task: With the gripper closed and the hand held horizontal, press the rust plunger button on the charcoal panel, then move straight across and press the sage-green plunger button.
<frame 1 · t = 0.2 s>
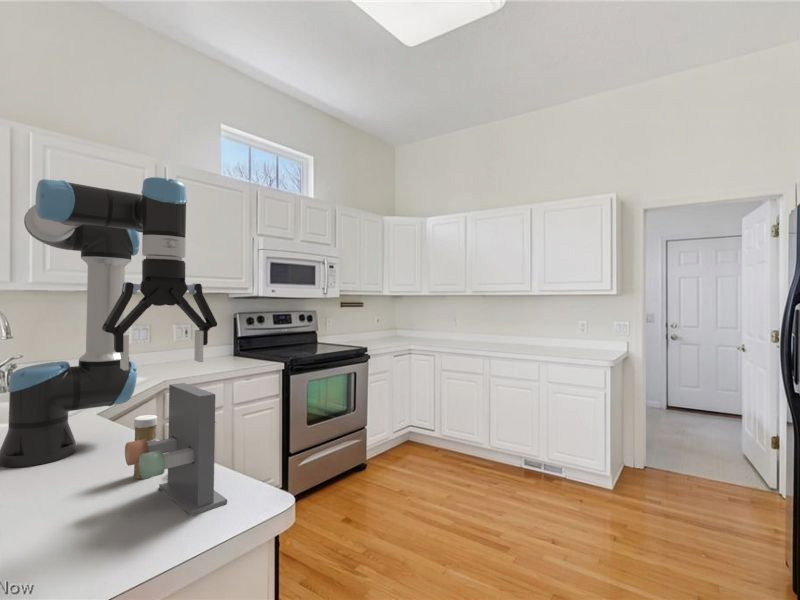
hand: (163, 365, 86), 27 cm above the counter, tool pointing down, fingers open, 13 cm apart
spice jar: (144, 476, 98), on the counter
sage button: (176, 458, 82), point 10 cm above the counter, slide at 0.0 cm
rust button: (160, 447, 88), point 10 cm above the counter, slide at 0.0 cm
button panel: (189, 496, 88), on the counter
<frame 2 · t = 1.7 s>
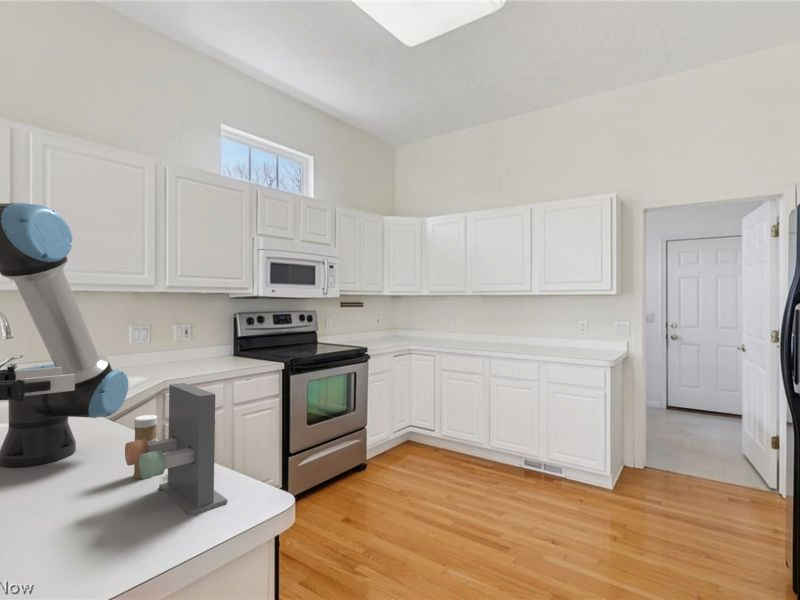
hand: (67, 378, 77), 26 cm above the counter, tool horizontal, fingers open, 10 cm apart
nothing on the counter moved.
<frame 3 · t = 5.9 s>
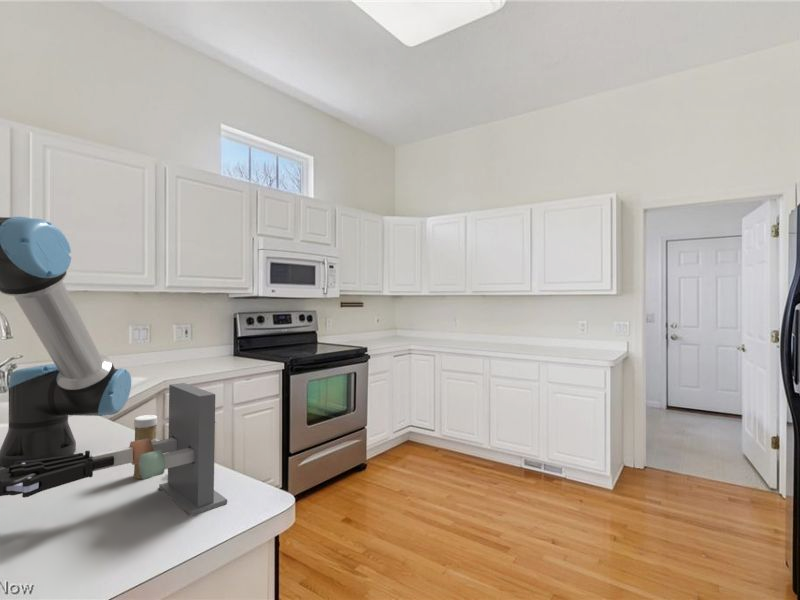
hand: (131, 454, 84), 10 cm above the counter, tool horizontal, fingers closed
rust button: (164, 446, 89), point 10 cm above the counter, slide at 0.8 cm, touching gripper
everything else where it was.
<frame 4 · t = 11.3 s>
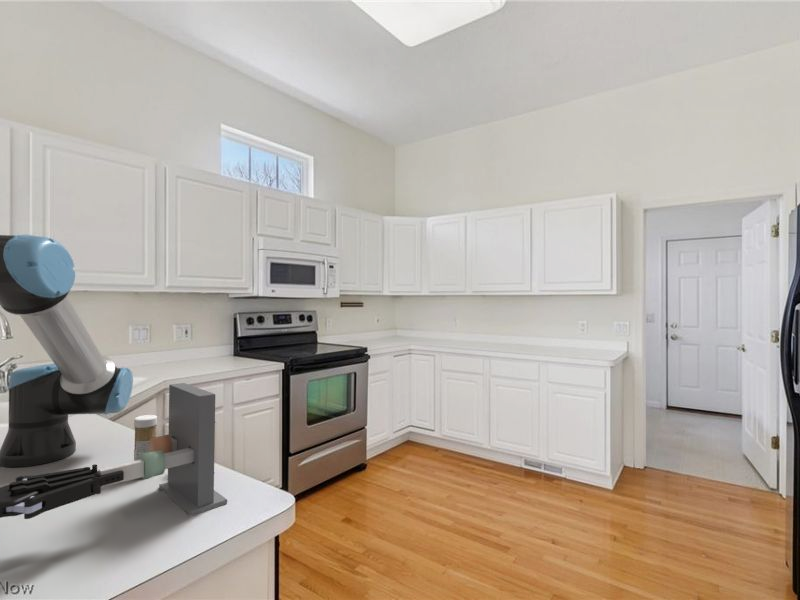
hand: (142, 467, 78), 10 cm above the counter, tool horizontal, fingers closed
sage button: (177, 458, 82), point 10 cm above the counter, slide at 0.1 cm, touching gripper
rust button: (182, 442, 92), point 10 cm above the counter, slide at 4.3 cm
everything else where it was.
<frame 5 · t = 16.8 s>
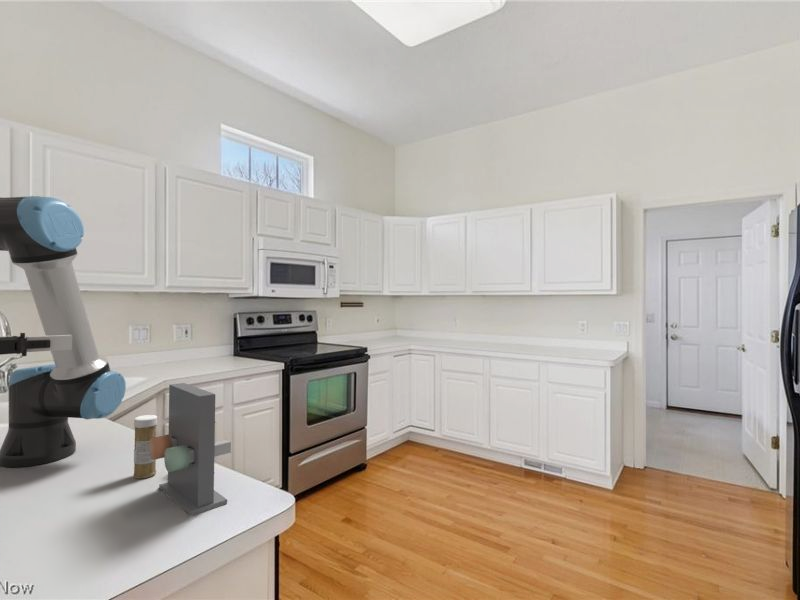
hand: (71, 342, 82), 32 cm above the counter, tool horizontal, fingers closed
sage button: (199, 452, 85), point 10 cm above the counter, slide at 4.3 cm
everything else where it was.
at the end: rust button slide at 4.3 cm; sage button slide at 4.3 cm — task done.
